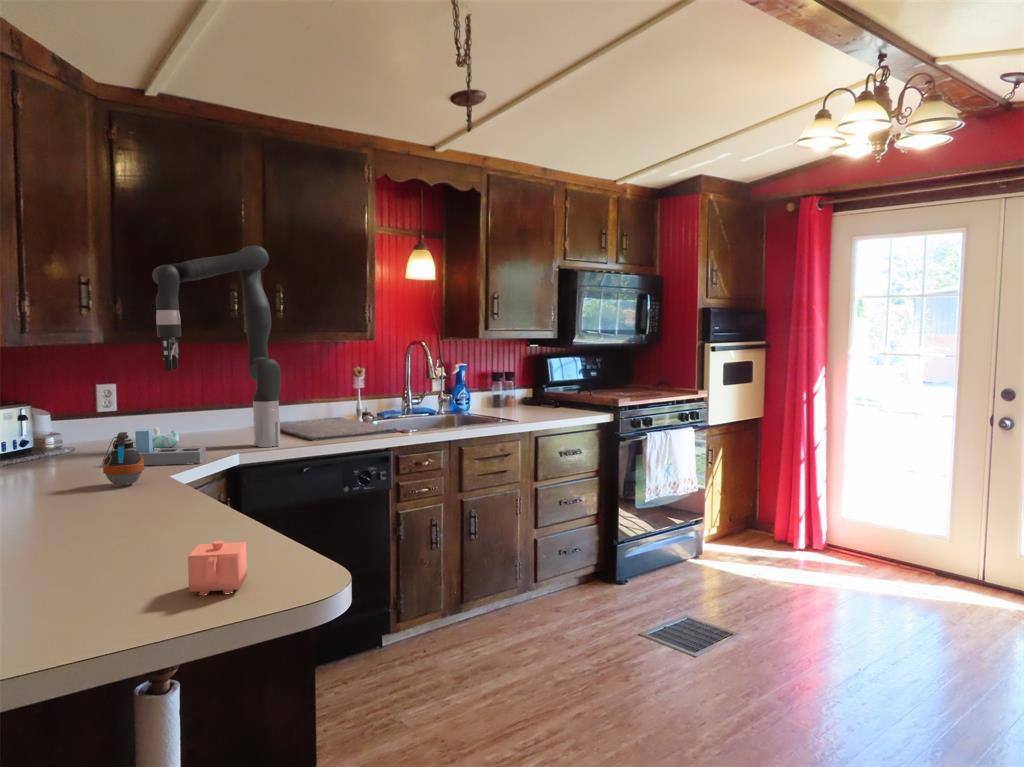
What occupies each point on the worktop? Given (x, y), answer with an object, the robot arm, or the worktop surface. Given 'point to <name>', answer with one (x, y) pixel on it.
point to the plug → (144, 441)
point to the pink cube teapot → (217, 567)
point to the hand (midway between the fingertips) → (171, 370)
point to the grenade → (123, 462)
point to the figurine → (164, 439)
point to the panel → (174, 456)
